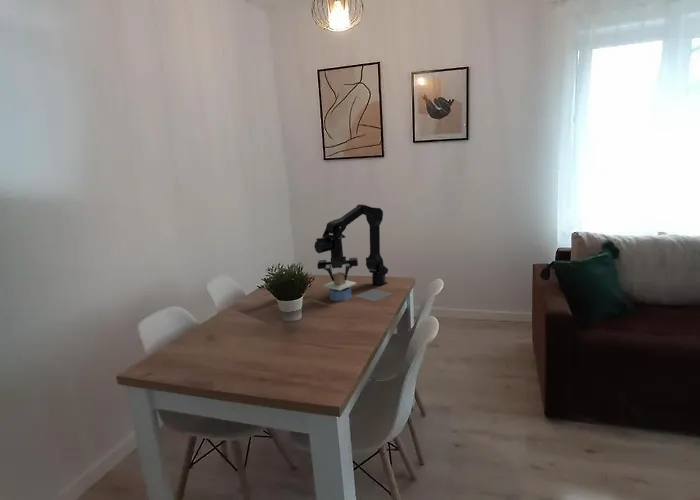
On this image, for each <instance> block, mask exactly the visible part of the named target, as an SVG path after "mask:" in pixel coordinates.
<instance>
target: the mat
mask: <svg viewBox="0 0 700 500" xmlns="http://www.w3.org/2000/svg"><path fill="white" fill-rule="evenodd" d="M390 295H393V292H388V291H385V290H384V291H383V290H381V289H376V288H371V289H368V290H366V291H364V292H361V293H359V294H356V295H354V297H355V298H359V299H363V300H366V301H371V302H377V301H379V300H381V299H383V298H386V297H388V296H390Z"/></svg>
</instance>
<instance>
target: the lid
mask: <svg viewBox="0 0 700 500" xmlns="http://www.w3.org/2000/svg"><path fill="white" fill-rule="evenodd" d="M333 280H334V281H331V282H328V283H325V284H323V288H327V289H328V288H329V289H330V288H331V289H335V290H339V291H340V290H342V289H345V288H347V287H350V286H351V287H352V286H355V285H357V282H356V281H351V280H348V279H346V280H345V272H341V271H337V272H335V273H333Z"/></svg>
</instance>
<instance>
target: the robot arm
mask: <svg viewBox="0 0 700 500" xmlns="http://www.w3.org/2000/svg"><path fill="white" fill-rule="evenodd" d="M363 215H364V216H365V218H366V222H367V224H368V225H369V255H368V257H366V258H365V266H366V268H367V269H368V271H369V273H370V274H372V275H371V278H372V283H370V285H371V286H375V287H382V286H385V285H388V284H389V283H388V282H386V275H387V274H388V273H389V268H388V267H386V265H384V260H383V258H382V257H383V256H382V255H381V244H380V241H381V240H380V238H381V237H380V236H381V233H380V230H381V228H380V226H381V224H382V222H383V218H384V217H383V216H384V211H383V209H382V208H380V207H373V206H372V207H371V206H369V205H366V204H357V205H356V206H355V207H354V208H352V209H351V210H350V211H348V212H347V213H346V214H344V215H342V216H341V217H339V218H336V219H333V220H330V221H329V222H327V223H326V226H325V229H324V232H323V234H322V237H317V238H315V240H316V241H315V242H314V246H313V247H314V250H315V252H316V253H317V254H322V253H327V252H330V261H328V260H327V259H319V260H318V262H317V269H318V270H324V271H327V272H328V274H329V276H330V279H331V282H333V281H334V280H333V274H334V273H333V270H332V269H342V268H343V266H344V265H345V268H344V269H345V272H344V273H345V280H348V279H347V278H348V274H349V271H350V269H352V268H353V267H358V265H359V261H358V260H359V259H358V257H349V258H348V260H347V257H346V256H345V255H344V251H343V249H344V248H343V241H342V240H343V239H345V238H346V235H344V234H343V232H344V231H345V230H346V229H347V227H348V226H349V225H350V224H351V223H352V222H354V221H355V220H357V219H358V218H360V217H361V216H363Z"/></svg>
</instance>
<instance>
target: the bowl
mask: <svg viewBox="0 0 700 500" xmlns="http://www.w3.org/2000/svg"><path fill="white" fill-rule="evenodd" d="M351 287H352V286H350V287H347V288H345V289H342V290H340V291H339V290H335V289H331V288H329V289H328V290H329V299H330V301H334V302H345V301H348V300H351V299H352V288H351Z"/></svg>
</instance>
